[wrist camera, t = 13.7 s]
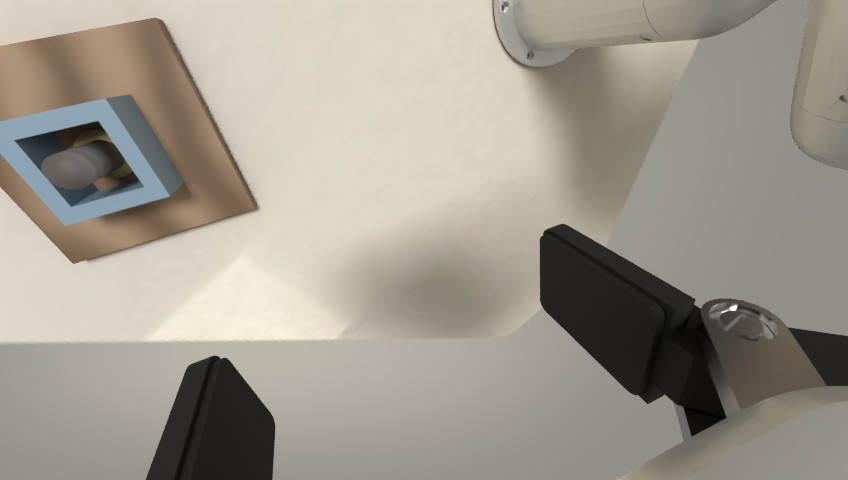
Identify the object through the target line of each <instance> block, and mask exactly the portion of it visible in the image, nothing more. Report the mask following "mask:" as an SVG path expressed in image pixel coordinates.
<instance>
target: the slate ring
mask: <svg viewBox="0 0 848 480" xmlns="http://www.w3.org/2000/svg"><path fill="white" fill-rule="evenodd" d="M95 121H99V123H100V124H101V125H102V127H103V128H104V130H105V131H106V133H107V134H108V136H109V137H110V138H111V140H112V141H113V143H114V144H115V146H116V147H117V148H118V150H119V151H120V153H121V154H122V156H123V157H124V159H125V160H126V161H127V163H128V164H129V166H130V167H131V169H132V170H133V172H134V173H135V174H136V176H137V177H138V179H139V180H135V181H131V182H127V183H124V184H120V185H116V186H113V187H109V188H105V189H101V190H98V189H97V188H96V186H95V185H94V184H93V183H91V184H89V185H88V186H86V187H84V188H81V189H77V190H69V189H64V188H61V187H58V186H56V185H54V184H53V183H51V182H50V181H49V180H48V179H47V178H46V177H45V176H44V174H43V172H42V162H43V161H44V159H45V158H47V157H49V156H51V155H54V154H57V153H59V152H62V151H65V150H67V149H66V148H65V146H64V145H63V144H62V143H61V141H60V140H59V139H58V138H57V136H56V135H55V134H54V132H53V131H56V130H61V129H65V128H69V127H74V126H78V125H82V124H87V123H91V122H95ZM0 154H1V155H2V156H3V157H4V158H5V159H6V161H7V162H8V163H9V164H10V165H11V166H12V167H13V168H14V169H15V171H16V172H17V173H18V174H19V175H20V176H21V177H22V178H23V180H24V181H25V182H26V183H27V184H28V185H29V186H30V187H31V188H32V190H33V191H34V192H35V193H36V194H37V195H38V196H39V197H40V199H41V200H42V201H43V202H44V203H45V204H46V205H47V206H48V208H49V209H50V210H51V211H52V212H53V213H54V214H55V215H56V216H57V218H58V219H59V220H60V221H61V222H62V223H63V224H64V225H65V226H67V225H71V224H74V223H78V222H81V221H85V220H88V219H92V218H95V217H99V216H102V215H106V214H110V213H113V212H117V211H120V210H124V209H127V208H131V207H134V206H138V205H141V204H145V203H148V202H152V201H156V200H159V199H163V198H166V197H170V196H171V195H172V194H173V193H174V192H175V191H176V190H177V189H178V188H179V187H180V186H181V185H182V184H183V183H184V182H185V181H184V180H183V178H182V177H181V175H180V173H179V172H178V170H177V169H176V167H175V165H174V164H173V162H172V160H171V159H170V157H169V156H168V154H167V152H166V151H165V149H164V148H163V146H162V144H161V143H160V141H159V139H158V138H157V136H156V135H155V133H154V131H153V130H152V128H151V127H150V125H149V123H148V122H147V120H146V118H145V117H144V115H143V114H142V112H141V110H140V109H139V107H138V106H137V104H136V102H135V101H134V99H133V97H132V96H131V94H130V95H123V96H116V97H110V98H104V99H99V100H95V101H90V102H86V103H81V104H77V105H72V106H68V107H63V108H59V109H54V110H50V111H45V112H40V113H36V114H31V115H27V116H22V117H18V118H13V119H9V120H4V121H0Z"/></svg>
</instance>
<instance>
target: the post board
mask: <svg viewBox="0 0 848 480" xmlns="http://www.w3.org/2000/svg"><path fill="white" fill-rule="evenodd" d="M130 94H131V96H132V97H133V99H134V101H135V102H136V104H137V106H138V107H139V109H140V110H141V112H142V114H143V115H144V117H145V118H146V120H147V122H148V123H149V125H150V127H151V128H152V130H153V131H154V133H155V135H156V136H157V138H158V139H159V141H160V143H161V144H162V146H163V148H164V149H165V151H166V152H167V154H168V156H169V157H170V159H171V160H172V162H173V164H174V165H175V167H176V169H177V170H178V172H179V173H180V175H181V177H182V178H183V180H184V181H185V182H184V183H183V184H182V185H181V186H180V187H179V188H178V189H177V190H176V191H175V192H174V193H173V194H172V195H171V196H170V197H166V198H163V199H159V200H156V201H152V202H148V203H145V204H141V205H138V206H134V207H131V208H127V209H124V210H120V211H117V212H113V213H110V214H106V215H102V216H99V217H95V218H92V219H88V220H85V221H81V222H78V223H74V224H71V225H67V226H65V225H64V224H63V223H62V222H61V221H60V220H59V219H58V218H57V216H56V215H55V214H54V213H53V212H52V211H51V210H50V209H49V208H48V206H47V205H46V204H45V203H44V202H43V201H42V200H41V199H40V197H39V196H38V195H37V194H36V193H35V192H34V191H33V190H32V188H31V187H30V186H29V185H28V184H27V183H26V182H25V181H24V180H23V178H22V177H21V176H20V175H19V174H18V173H17V172H16V171H15V169H14V168H13V167H12V166H11V165H10V164H9V163H8V162H7V161H6V159H5V158H4V157H3V156H2V155H1V154H0V187H1V188H2V189H3V190H4V191H5V192H6V193H7V194H8V195H9V197H10V198H11V199H12V200H13V201H14V202H15V203H16V204H17V205H18V206H19V207H20V208H21V209H22V210H23V211H24V212H25V213H26V214H27V216H28V217H29V218H30V219H31V220H32V221H33V222H34V223H35V224H36V225H37V226H38V227H39V228H40V229H41V230H42V231H43V232H44V234H45V235H46V236H47V237H48V238H49V239H50V240H51V241H52V242H53V243H54V244H55V245H56V246H57V247H58V248H59V249H60V250H61V252H62V253H63V254H64V255H65V256H66V257H67V258H68V259H69V260H70V261H71V262H72V263H73V264H75V263H78V262H81V261H84V260H88V259H91V258H94V257H98V256H101V255H104V254H108V253H111V252H114V251H117V250H121V249H124V248H127V247H131V246H134V245H137V244H140V243H144V242H147V241H150V240H154V239H157V238H160V237H164V236H167V235H170V234H173V233H177V232H180V231H183V230H187V229H190V228H193V227H197V226H200V225H203V224H206V223H210V222H213V221H216V220H220V219H223V218H226V217H229V216H233V215H236V214H239V213H243V212H246V211H249V210H253V209H255V207H256V202H255V200H254V198H253V196H252V194H251V192H250V190H249V188H248V186H247V184H246V182H245V180H244V178H243V176H242V174H241V173H240V171H239V169H238V167H237V165H236V163H235V161H234V159H233V157H232V155H231V153H230V151H229V149H228V147H227V145H226V143H225V141H224V139H223V138H222V136H221V134H220V132H219V130H218V128H217V126H216V124H215V122H214V120H213V118H212V116H211V114H210V112H209V110H208V108H207V106H206V104H205V103H204V101H203V99H202V97H201V95H200V93H199V91H198V89H197V87H196V85H195V83H194V81H193V79H192V77H191V75H190V73H189V71H188V69H187V68H186V66H185V64H184V62H183V60H182V58H181V56H180V54H179V52H178V50H177V48H176V46H175V44H174V42H173V40H172V38H171V36H170V34H169V32H168V31H167V29H166V27H165V25H164V23H163V21H162V20H160V19H157V18H151V19H146V20H140V21H135V22H129V23H124V24H118V25H113V26H107V27H102V28H96V29H91V30H85V31H80V32H74V33H69V34H63V35H58V36H52V37H47V38H42V39H36V40H31V41H25V42H20V43H14V44H9V45H3V46H0V121H4V120H9V119H13V118H18V117H22V116H27V115H31V114H36V113H40V112H45V111H50V110H54V109H59V108H63V107H68V106H72V105H77V104H81V103H86V102H90V101H95V100H99V99H104V98H110V97H116V96H123V95H130ZM53 132H54V134H55V135H56V136H57V138H58V139H59V140H60V141H61V143H62V144H63V145H64V146H65V148H66V149H67V150H65V151H62V152H59V153H57V154H54V155H51V156H49V157H47V158H45V159H44V161H43V162H42V172H43V174H44V176H45V177H46V178H47V179H48V180H49V181H50V182H51V183H53V184H54V185H56V186H58V187H61V188H64V189H69V190H77V189H81V188H84V187H86V186H88V185H89V184H91V183H93V184H94V185H95V186H96V188H97V189H98V190H101V189H105V188H109V187H113V186H116V185H120V184H124V183H127V182H131V181H135V180H139V179H138V177H137V176H136V174H135V173H134V172H133V170H132V169H131V167H130V166H129V164H128V163H127V161H126V160H125V159H124V157H123V156H122V154H121V153H120V151H119V150H118V148H117V147H116V146H115V144H114V143H113V141H112V140H111V138H110V137H109V136H108V134H107V133H106V131H105V130H104V128H103V127H102V125H101V124H100V123H99V121H95V122H91V123H87V124H82V125H78V126H74V127H69V128H65V129H61V130H56V131H53Z"/></svg>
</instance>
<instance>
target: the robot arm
mask: <svg viewBox="0 0 848 480" xmlns="http://www.w3.org/2000/svg"><path fill="white" fill-rule="evenodd" d="M493 1H494V17H495V23H496V28H497V31H498V34H499V37H500V39H501V41H502V43H503V45H504V47H505V48H506V50H507V51H508V52H509V53H510V54H511V56H512V57H513V58H515V59H516V60H517V61H519V62H520V63H522V64H525V65H528V66H533V67H547V66H551V65H555V64H557V63H559V62H561V61H563V60H565V59H566V58H567V57H569V56H570V55H571V54H572V53H573V52H574V51H575V50H576V49H577V48H589V47H602V46H616V45H629V44H643V43H656V42H670V41H684V40H696V39H702V38H707V37H711V36H715V35H718V34H721V33H723V32H726V31H728V30H731V29H733V28H735V27H737V26H739V25H741V24H742V23H744V22H746V21H747V20H749V19H751V18H752V17H754V16H755V15H757V14H758V13H760V12H761V11H762V10H764V9H765V8H767V7H768V6H769V5H771V4H772V3H773V2H775V1H776V0H493ZM501 7H502V9H501ZM790 128H791V134H792V137H793V140H794V142H795V143H796V145H797V146H798V148H799V149H800V150H801V151H803V152H804V153H805V154H806V155H807V156H808V157H810V158H812V159H813V160H816V161H818V162H820V163H823V164H825V165H828V166H831V167H835V168H840V169H844V170H848V0H808V3H807V10H806V25H805V31H804V36H803V42H802V47H801V52H800V58H799V63H798V69H797V74H796V79H795V85H794V90H793V99H792V105H791V115H790ZM540 302H541V305H542V307H543V308H544V310H545V311H546V312H547V313H548V314H549V315H550V316H551V317H552V318H553V319H554V320H555V321H556V322H557V323H558V324H560V325H561V327H563V328H564V329H565V330H566V331H567V332H568V333H569V334H570V335H571V336H572V337H573V338H574V339H575V340H576V341H577V342H578V343H579V344H580V345H581V346H582V347H583V348H584V349H585V350H586V351H587V352H588V353H589V354H590V355H591V356H592V357H593V358H595V360H597V361H598V362H599V363H600V364H601V365H602V366H603V367H604V368H605V369H606V370H607V371H608V372H609V373H610V374H611V375H612V376H613V377H614V378H615V379H616V380H617V381H618V382H619V383H620V384H621V385H622V386H623V387H624V388H625V389H626V390H627V391H629V392H630V393H631V394H634V395H639V396H640V397H641V398H642V399H643V400H644V401H645V402H646V403H647V404H649V403H651V402H652V401H654V400H656V399H658V398H660V397H662V396H663V395H664V394H665V395H666V396H667V397H669V398H670V399H671V400H672V401H673V402H674V406H675V410H676V413H677V417H678V421H679V425H680V428H681V432H682V436H683V440H684V441H683V442H681V443H680V444H678V445H676V446H674V447H673V448H671V449H669V450H667V451H666V452H664V453H662V454H661V455H659V456H657V457H655V458H654V459H652V460H650V461H648V462H647V463H645V464H643V465H641V466H640V467H638V468H636V469H634V470H633V471H631V472H629V473H627V474H626V475H624V476H622V477H620V478H619V479H617V480H848V336H843V335H836V334H829V333H822V332H815V331H808V330H802V329H794V328H788V327H787V326H786V325H785V324H784V323H783V322H782V321H781V319H780V318H779V317H777V316H776V315H774V314H773V313H771V312H770V311H768V310H766V309H764V308H762V307H760V306H758V305H755V304H752V303H749V302H746V301H742V300H736V299H714V300H710V301H708V302H706V303H705V304H703V306H702V308H701V309H700V308H698V307H697V306H695V305H694V302H695V299H694V298H692V297H691V296H689V295H687V294H685V293H683V292H682V291H680V290H678V289H677V288H675V287H673V286H671V285H670V284H668V283H666V282H665V281H663V280H661V279H659V278H658V277H656V276H654V275H652V274H651V273H649V272H647V271H645V270H644V269H642V268H640V267H639V266H637V265H635V264H633V263H631V262H630V261H628V260H626V259H625V258H623V257H621V256H619V255H618V254H616V253H614V252H613V251H611V250H609V249H607V248H606V247H604V246H602V245H600V244H599V243H597V242H595V241H593V240H592V239H590V238H588V237H587V236H585V235H583V234H581V233H580V232H578V231H576V230H574V229H573V228H571V227H569V226H568V225H565V224H560V225H557V226H554V227H552V228H549V229H547V230H545V231H544V233H543V236H542V237H541V238H540ZM274 440H275V422H274V418H273V416H272V415H271V413H270V412H269V410H268V409H267V408H266V407H265V405H264V404H263V403H262V402H261V400H260V399H259V398H258V396H257V395H256V394H255V393H254V391H253V390H252V389H251V387H250V386H249V385H248V384H247V382H246V381H245V380H244V379H243V377H242V376H241V375H240V373H239V372H238V371H237V370H236V368H235V367H234V366H233V364H232V363H231V362H230V361H229V360H228V359H227V358H222V359H220V358H219V357H218V356H212V357H209V358H206V359H204V360H201V361H199V362H196V363H193V364H191V365H189V366H188V367H187V369H186V372H185V374H184V377H183V380H182V382H181V385H180V388H179V391H178V393H177V396H176V399H175V402H174V404H173V407H172V410H171V412H170V415H169V418H168V421H167V424H166V426H165V429H164V431H163V435H162V437H161V440H160V442H159V445H158V448H157V450H156V453H155V456H154V459H153V462H152V464H151V467H150V470H149V472H148V475H147V478H146V480H272V474H273V458H274Z"/></svg>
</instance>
